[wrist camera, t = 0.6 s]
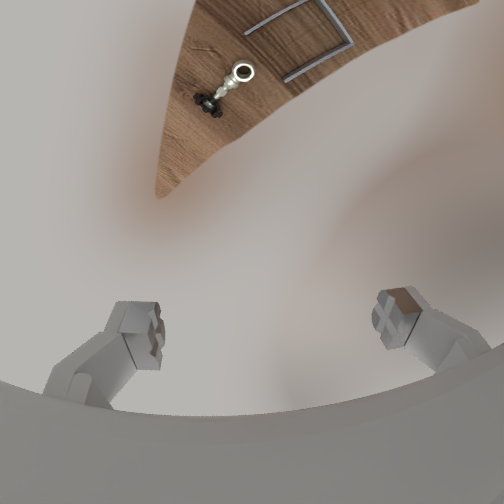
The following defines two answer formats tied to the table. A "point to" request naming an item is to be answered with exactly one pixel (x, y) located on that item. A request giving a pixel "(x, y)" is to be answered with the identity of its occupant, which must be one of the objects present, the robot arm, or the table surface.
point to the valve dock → (323, 57)
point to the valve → (225, 88)
